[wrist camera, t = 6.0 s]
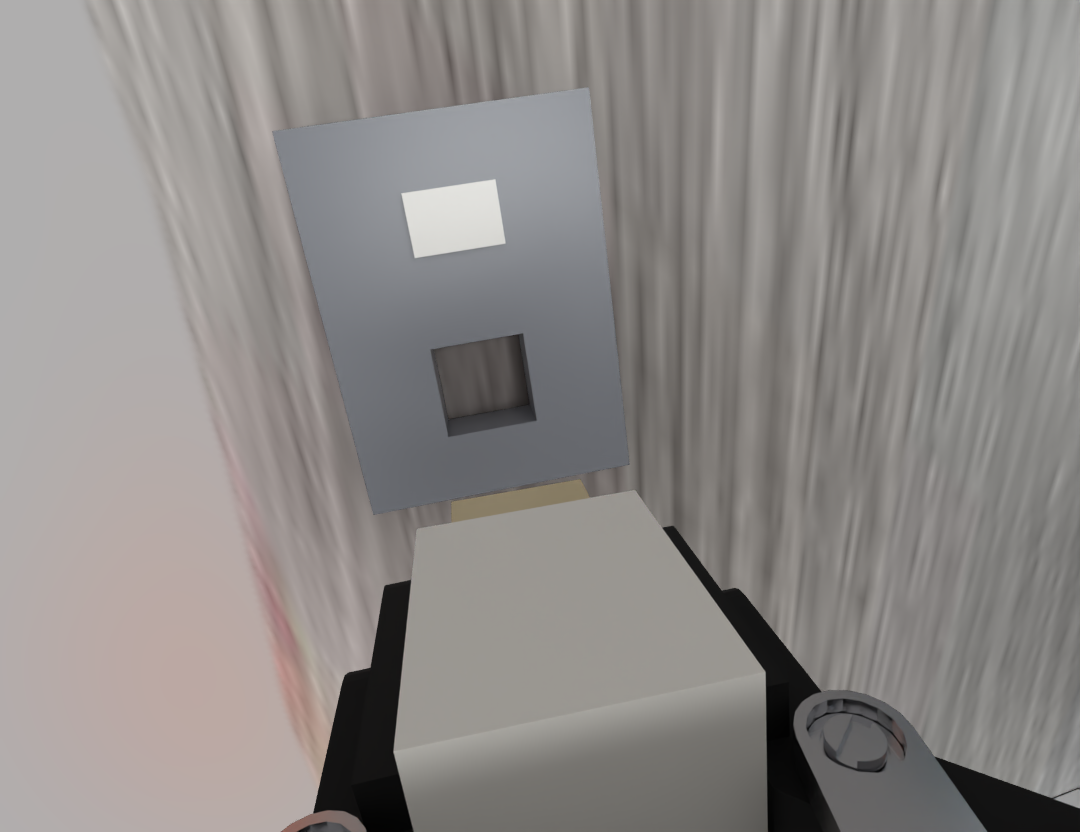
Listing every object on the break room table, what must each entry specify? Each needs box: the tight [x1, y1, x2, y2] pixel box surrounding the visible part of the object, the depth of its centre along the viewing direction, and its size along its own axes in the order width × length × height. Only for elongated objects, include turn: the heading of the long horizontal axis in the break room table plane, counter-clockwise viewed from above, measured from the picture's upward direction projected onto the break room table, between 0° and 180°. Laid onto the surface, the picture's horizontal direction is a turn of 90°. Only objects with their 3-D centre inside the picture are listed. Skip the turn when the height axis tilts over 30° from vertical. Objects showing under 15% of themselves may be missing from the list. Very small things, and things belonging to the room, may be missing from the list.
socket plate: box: [272, 87, 630, 515], centre depth 26 cm, size 16×12×3 cm
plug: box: [393, 479, 768, 832], centre depth 10 cm, size 5×4×7 cm
